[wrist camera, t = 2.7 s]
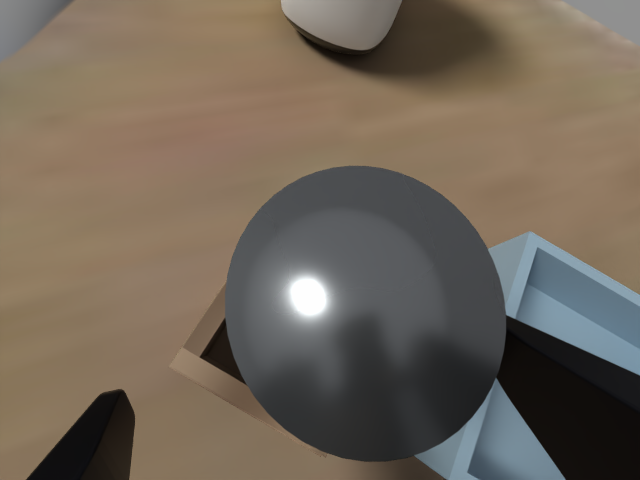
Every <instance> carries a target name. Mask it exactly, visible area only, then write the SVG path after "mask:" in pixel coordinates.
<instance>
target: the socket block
mask: <svg viewBox="0 0 640 480" xmlns="http://www.w3.org/2000/svg"><path fill="white" fill-rule="evenodd" d="M226 283H227V280H226V281H225V283H224V284H223V286H222V287H221V289H220V290H219V292H218V293H217V295H216V296H215V298H214V299H213V301H212V302H211V304H210V305H209V307H208V308H207V310H206V311H205V313H204V314H203V316H202V317H201V319H200V320H199V322H198V323H197V325H196V326H195V328H194V329H193V331H192V332H191V334H190V335H189V337H188V338H187V340H186V341H185V343H184V344H183V345H182V347H181V348H180V350H179V351H178V353H177V354H176V356H175V357H174V359H173V360H172V362H171V363H170V365H169V366H168V367H169V368H171V369H172V370H174V371H176V372H178V373H179V374H181V375H183V376H184V377H186V378H188V379H189V380H191V381H193V382H195V383H196V384H198V385H200V386H201V387H203V388H205V389H206V390H208V391H210V392H212V393H213V394H215V395H217V396H218V397H220V398H222V399H223V400H225V401H227V402H229V403H230V404H232V405H234V406H235V407H237V408H239V409H240V410H242V411H244V412H246V413H247V414H249V415H251V416H252V417H254V418H256V419H257V420H259V421H261V422H263V423H264V424H266V425H268V426H269V427H271V428H273V429H274V430H276V431H278V432H280V433H281V434H283V435H285V436H286V437H288V438H290V439H291V440H293V441H295V442H296V443H298V444H300V445H302V446H303V447H305V448H307V449H308V450H310V451H312V452H313V453H315V454H317V455H319V456H320V457H321V456H324V457H326V456H327V453H325V452H322V451H320V450H318V449H316V448H314V447H312V446H310V445H308V444H306V443H304V442H302V441H301V440H300V439H298V438H297V437H295V436H294V435H292V434H291V433H289V432H288V431H287V430H285V429H284V428H283V427H282V426H281V425H280V424H278V423H277V422H276V421H275V420H274V419H273V418H272V417H271V416H270V415H269V414H268V413H267V412H266V411H265V409H264V408H263V407H262V406H261V404H260V403H259V402H258V401H257V399H256V398H255V397H254V396H253V394H252V392H251V391H250V389H249V387H248V386H247V384H246V382H245V381H244V379H243V377H242V375H241V373H240V370H239V368H238V366H237V363H236V361H235V359H234V356H233V352H232V349H231V345H230V342H229V338H228V333H227V326H226V318H225V290H226Z"/></svg>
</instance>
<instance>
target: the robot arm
mask: <svg viewBox="0 0 640 480" xmlns="http://www.w3.org/2000/svg"><path fill="white" fill-rule="evenodd" d="M496 378H497V380H498V382H499V384H500V385H501V387H502V389H503V390H504V392H505V393H506V395H507V397H508V398H509V400H510V401H511V403H512V404H513V405H514V407H515V408H516V410H517V411H518V413H519V414H520V415H521V417H522V418H523V420H524V421H525V423H526V424H527V425H528V427H529V428H530V430H531V431H532V433H533V434H534V435H535V437H536V438H537V440H538V441H539V442H540V444H541V445H542V447H543V448H544V450H545V451H546V452H547V454H548V455H549V457H550V458H551V460H552V461H553V462H554V464H555V465H556V467H557V468H558V470H559V471H560V472H561V474H562V475H563V477H564V478H565V480H640V375H638V374H636V373H634V372H632V371H629V370H627V369H625V368H623V367H620V366H618V365H616V364H614V363H612V362H609V361H607V360H605V359H603V358H601V357H598V356H596V355H594V354H592V353H590V352H587V351H585V350H583V349H581V348H578V347H576V346H574V345H572V344H570V343H567V342H565V341H563V340H561V339H559V338H556V337H554V336H552V335H550V334H547V333H545V332H543V331H541V330H539V329H536V328H534V327H532V326H530V325H528V324H525V323H523V322H521V321H519V320H516V319H514V318H512V317H510V316H508V315H506V337H505V346H504V352H503V356H502V360H501V364H500V368H499V371H498V374H497V376H496ZM134 427H135V414H134V411H133V408H132V406H131V404H130V402H129V400H128V397H127V395H126V393H125V392H124V390H122V389H117V390H113V391H108V392H104V393H102V394H100V395H99V396H98V397H97V398H96V399H95V400H94V401H93V403H92V404H91V405H90V406H89V407H88V408H87V410H86V411H85V412H84V413H83V414H82V415H81V417H80V418H79V419H78V420H77V421H76V422H75V423H74V425H73V426H72V427H71V428H70V429H69V430H68V432H67V433H66V434H65V435H64V436H63V437H62V439H61V440H60V441H59V442H58V443H57V444H56V445H55V447H54V448H53V449H52V450H51V451H50V452H49V454H48V455H47V456H46V457H45V458H44V459H43V461H42V462H41V463H40V464H39V465H38V466H37V467H36V469H35V470H34V471H33V472H32V473H31V474H30V476H29V477H28V478H27V479H26V480H129V476H130V466H131V457H132V447H133V437H134Z"/></svg>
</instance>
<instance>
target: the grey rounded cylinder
mask: <svg viewBox="0 0 640 480" xmlns="http://www.w3.org/2000/svg"><path fill="white" fill-rule="evenodd" d="M225 318H226V326H227V333H228V338H229V342H230V345H231V349H232V352H233V356H234V359H235V361H236V363H237V366H238V368H239V370H240V373H241V375H242V377H243V379H244V381H245V382H246V384H247V386H248V387H249V389H250V391H251V392H252V394H253V396H254V397H255V398H256V399H257V401H258V402H259V403H260V404H261V406H262V407H263V408H264V409H265V411H266V412H267V413H268V414H269V415H270V416H271V417H272V418H273V419H274V420H275V421H276V422H277V423H278V424H280V425H281V426H282V427H283V428H284V429H285V430H287V431H288V432H289V433H291V434H292V435H294V436H295V437H297V438H298V439H300V440H301V441H302V442H304V443H306V444H308V445H310V446H312V447H314V448H316V449H318V450H320V451H322V452H325V453H329V454H332V455H335V456H338V457H341V458H345V459H352V460H358V461H391V460H397V459H403V458H408V457H411V456H414V455H417V454H420V453H423V452H426V451H428V450H429V449H431V448H433V447H435V446H437V445H439V444H441V443H443V442H444V441H446V440H447V439H448V438H450V437H451V436H453V435H454V434H455V433H457V432H458V431H459V430H460V429H461V428H462V427H463V426H464V425H465V424H466V423H467V422H468V421H469V420H470V419H471V418H472V417H473V416H474V414H475V413H476V412H477V410H478V409H479V408H480V406H481V405H482V404H483V402H484V401H485V399H486V397H487V395H488V394H489V392H490V390H491V388H492V386H493V384H494V381H495V379H496V376H497V374H498V371H499V368H500V364H501V360H502V356H503V352H504V346H505V337H506V309H505V301H504V294H503V290H502V286H501V282H500V278H499V275H498V272H497V269H496V267H495V264H494V261H493V259H492V257H491V255H490V253H489V251H488V249H487V247H486V245H485V243H484V242H483V240H482V239H481V237H480V235H479V234H478V232H477V231H476V229H475V228H474V227H473V226H472V224H471V223H470V222H469V220H468V219H467V218H466V217H465V216H464V215H463V214H462V213H461V212H460V211H459V210H458V209H457V208H456V207H455V205H453V204H452V203H451V202H450V201H449V200H447V199H446V198H445V197H444V196H442V195H441V194H440V193H438V192H437V191H435V190H434V189H432V188H431V187H429V186H428V185H426V184H424V183H422V182H420V181H418V180H416V179H414V178H412V177H409V176H406V175H404V174H401V173H398V172H395V171H391V170H387V169H383V168H376V167H369V166H345V167H336V168H330V169H326V170H322V171H318V172H315V173H313V174H310V175H307V176H305V177H302V178H300V179H298V180H297V181H295V182H293V183H291V184H289V185H287V186H286V187H285V188H283V189H282V190H281V191H279V192H278V193H276V194H275V195H274V196H273V197H272V198H271V199H269V200H268V201H267V202H266V203H265V204H264V205H263V206H262V207H261V208H260V209H259V211H258V212H257V213H256V214H255V216H254V217H253V218H252V220H251V221H250V222H249V224H248V225H247V227H246V229H245V231H244V232H243V234H242V236H241V237H240V239H239V242H238V244H237V246H236V249H235V251H234V254H233V256H232V260H231V264H230V267H229V271H228V275H227V283H226V290H225Z"/></svg>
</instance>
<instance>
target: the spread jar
mask: <svg viewBox="0 0 640 480" xmlns="http://www.w3.org/2000/svg"><path fill="white" fill-rule="evenodd" d="M402 1H403V0H281V6H282V11H283V13H284V15H285V17H286V18H287V20H288V21H289V22H290V23H291V24H292V26H293V27H294V28H295V29H296V30H298V31H299V32H300V33H301V34H302V35H304V36H305V37H306V38H308V39H309V40H311V41H312V42H314V43H316V44H318V45H319V46H321V47H324V48H326V49H329V50H332V51H335V52H339V53H344V54H365V53H368V52H370V51H372V50H373V49H375V48H376V47H377V46H378V45H379V44H380V43H381V42H382V41H383V39H384V38H385V36H386V35H387V33H388V31H389V30H390V28H391V26H392V24H393V21H394V19H395V17H396V15H397V12H398V10H399V8H400V5H401V3H402Z"/></svg>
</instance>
